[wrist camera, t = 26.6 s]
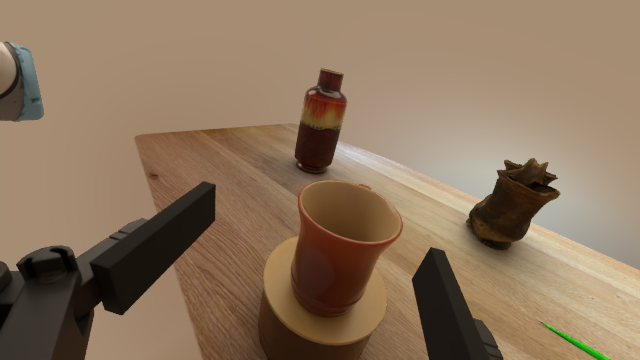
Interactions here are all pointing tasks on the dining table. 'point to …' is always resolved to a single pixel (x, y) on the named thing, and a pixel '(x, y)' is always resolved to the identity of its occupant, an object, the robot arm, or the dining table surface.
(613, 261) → the dining table surface
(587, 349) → the leaf
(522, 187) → the pottery vessel
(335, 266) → the mug
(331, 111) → the vase
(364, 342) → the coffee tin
